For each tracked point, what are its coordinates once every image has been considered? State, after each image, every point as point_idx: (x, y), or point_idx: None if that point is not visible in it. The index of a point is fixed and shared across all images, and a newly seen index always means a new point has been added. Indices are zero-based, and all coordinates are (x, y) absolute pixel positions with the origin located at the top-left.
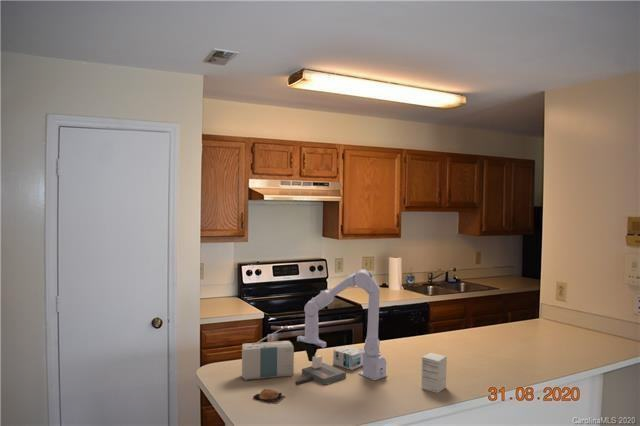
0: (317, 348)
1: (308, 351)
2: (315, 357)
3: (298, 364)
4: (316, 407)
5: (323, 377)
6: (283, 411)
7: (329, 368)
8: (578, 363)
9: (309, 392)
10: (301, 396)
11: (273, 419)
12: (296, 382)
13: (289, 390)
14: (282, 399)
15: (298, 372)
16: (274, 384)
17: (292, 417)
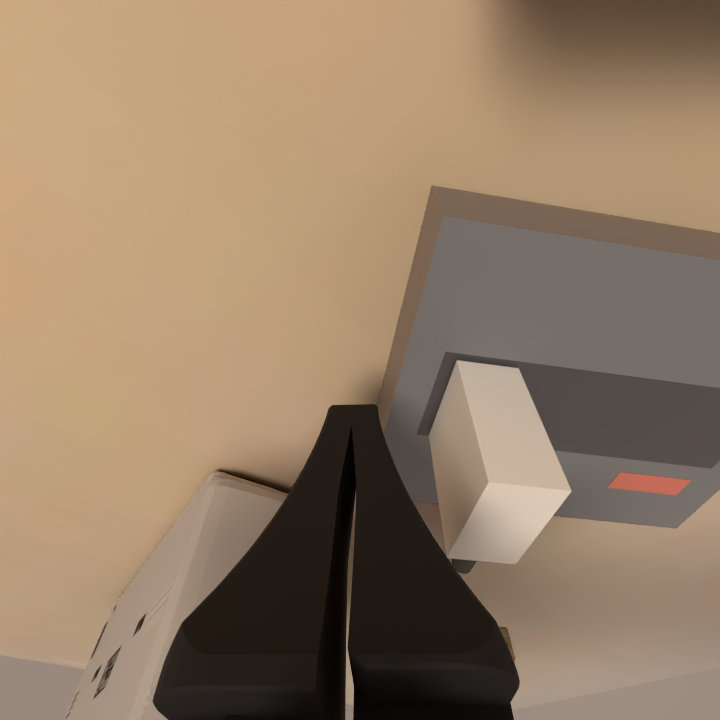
0: (457, 582)
1: (346, 607)
2: (503, 554)
3: (93, 293)
4: (706, 625)
5: (662, 515)
6: (577, 671)
7: (638, 335)
8: None
9: (597, 570)
10: (578, 604)
11: (575, 694)
12: (464, 569)
13: (476, 596)
14: (509, 640)
15: (300, 432)
16: (350, 593)
17: (634, 677)
